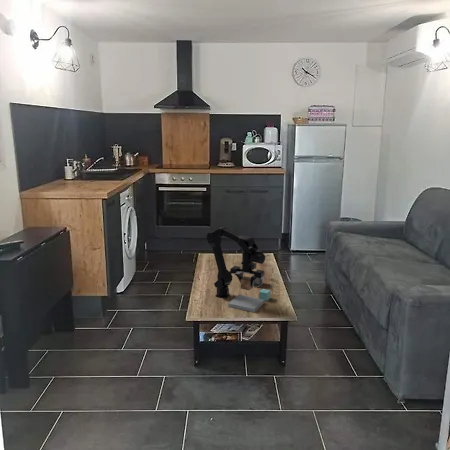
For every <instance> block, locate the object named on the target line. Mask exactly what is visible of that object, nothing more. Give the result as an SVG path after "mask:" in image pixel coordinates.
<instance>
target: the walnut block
mask: <svg viewBox="0 0 450 450" xmlns="http://www.w3.org/2000/svg"><path fill="white" fill-rule="evenodd" d="M251 277H252V276H251ZM251 277H250V276H245V275H243V278H242V279H241V283H240V289H241V290H247V291H251V290H252V289H253V288H254V284H253V287H251Z"/></svg>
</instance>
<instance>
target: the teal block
mask: <svg viewBox="0 0 450 450" xmlns="http://www.w3.org/2000/svg"><path fill="white" fill-rule="evenodd" d="M258 298H259V299H263V300H264V302H268V301H269V300H270V299H271V290H270V289H265V288H262V289H260V290H259V292H258Z"/></svg>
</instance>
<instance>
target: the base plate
mask: <svg viewBox="0 0 450 450" xmlns="http://www.w3.org/2000/svg"><path fill="white" fill-rule="evenodd" d="M264 304H265V301H264V300H263V299H259V297H258V298H257V297H253V296H248V295H245V294H244V295H243V294H238V295H237V296H235V297H234V298H233V299H231V300H230V301H229V302H228V304H227V305H228V306H227V307H229V308H231V309H232V308H233V309H236V310H240V311H241V310H243V311H246V312H251V313H256V312H257V311H258V310H259V309H260V307H262V306H263V305H264Z"/></svg>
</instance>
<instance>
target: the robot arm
mask: <svg viewBox="0 0 450 450" xmlns="http://www.w3.org/2000/svg"><path fill="white" fill-rule="evenodd" d="M222 237H225V238H227V239H228V240H231V241H233V242H235V243H236V244H237V246H239V247H240V249H239V250H238V251H239V252H241V259H242V260H241V263H240V264H241V266H238V265H233V266H232V267H231V268H230V270H228V269H227V265H226V262H225V258H224V254H223V251H222V247H221V246H222V245H221V244H222ZM205 238H206V240H207V243H208V245H209V246H210V247H211V249H212V252H213V255H214V259H215V263H216V264H215V265H216V267H217V271H218V272H217V276H216V277H217V280H216V281H215V282H214V283H213V284H214V287H215V288H216V294H215V297H218V298H220V299H221V298H222V299H227V297H229V296H230V288H229V286H230V285H231V283H232V282H233V278H234V276H233V275H232V274H234V275H235V276H236V278H237V279H238V281H239V282H240V284H241V279H242V278H243V277H244V274H248V275H252V276H251V287H253V288H254V286H253V284H254V281H255V279H256V278H262V277H263V276H264V277H265V271H264V270H263V269H257V264H260V265H261V264H264V262H265V261H266V256H265V254H264V251H263V250H259V248H258V246H257V244H256V242H255V240H254V238H253V237H251V236H248V235H242V234H240V233H238V232H235V231H234V230H232V229H230V228H228V227H226V226H222V227H219V228H218V229H217V230H213V231H210V232H208V233H206V237H205ZM255 269H256V270H255Z"/></svg>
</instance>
